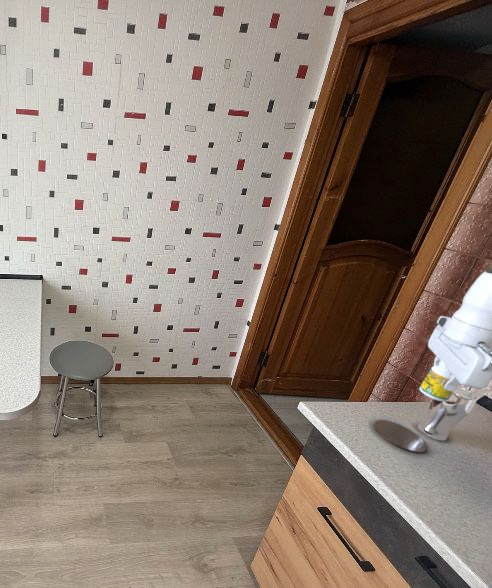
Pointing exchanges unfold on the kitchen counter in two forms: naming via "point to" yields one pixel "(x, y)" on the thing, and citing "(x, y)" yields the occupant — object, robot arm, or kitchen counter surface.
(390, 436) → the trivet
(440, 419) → the beer glass
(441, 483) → the kitchen counter surface
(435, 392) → the supplement bottle
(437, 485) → the kitchen counter surface
